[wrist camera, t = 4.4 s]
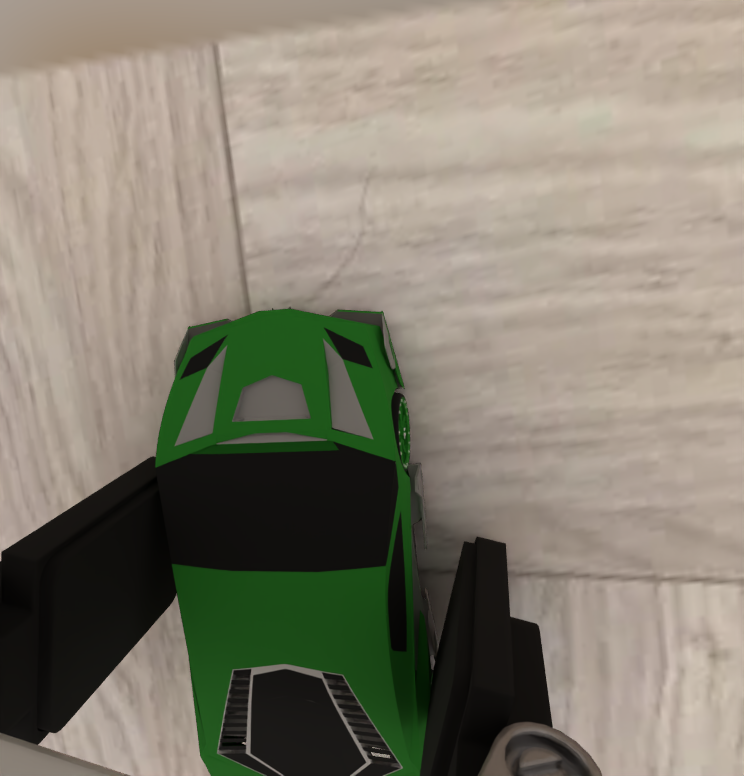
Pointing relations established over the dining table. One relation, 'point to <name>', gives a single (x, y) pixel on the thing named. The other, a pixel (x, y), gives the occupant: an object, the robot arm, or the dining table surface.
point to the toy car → (297, 545)
